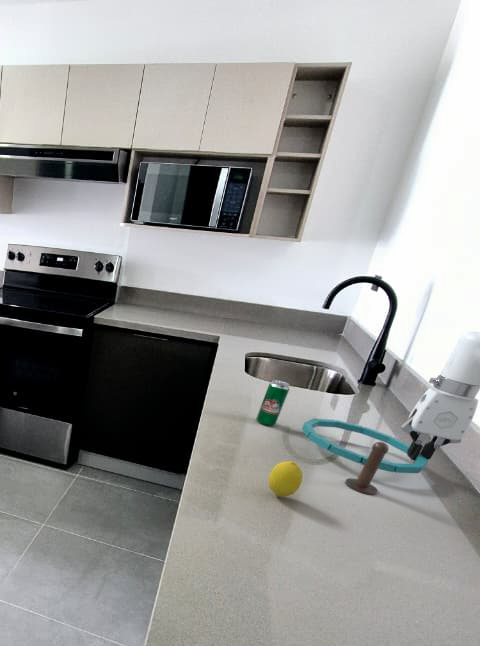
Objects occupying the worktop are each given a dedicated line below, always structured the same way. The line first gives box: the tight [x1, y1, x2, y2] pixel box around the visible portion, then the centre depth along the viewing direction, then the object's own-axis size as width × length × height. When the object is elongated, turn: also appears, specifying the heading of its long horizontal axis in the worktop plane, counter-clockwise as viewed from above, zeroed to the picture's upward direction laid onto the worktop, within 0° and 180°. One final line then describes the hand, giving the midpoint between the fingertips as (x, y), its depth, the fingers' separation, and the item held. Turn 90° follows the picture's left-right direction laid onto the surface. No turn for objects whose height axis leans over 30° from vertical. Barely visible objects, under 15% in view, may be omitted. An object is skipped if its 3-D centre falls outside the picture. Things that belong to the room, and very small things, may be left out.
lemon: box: [268, 460, 303, 498], centre depth 99 cm, size 6×6×8 cm
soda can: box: [255, 379, 290, 427], centre depth 137 cm, size 5×5×12 cm
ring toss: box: [344, 441, 390, 496], centre depth 107 cm, size 6×6×11 cm
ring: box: [301, 418, 429, 474], centre depth 123 cm, size 26×26×2 cm
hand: (416, 458), depth 120 cm, fingers closed on ring, 1 cm apart
